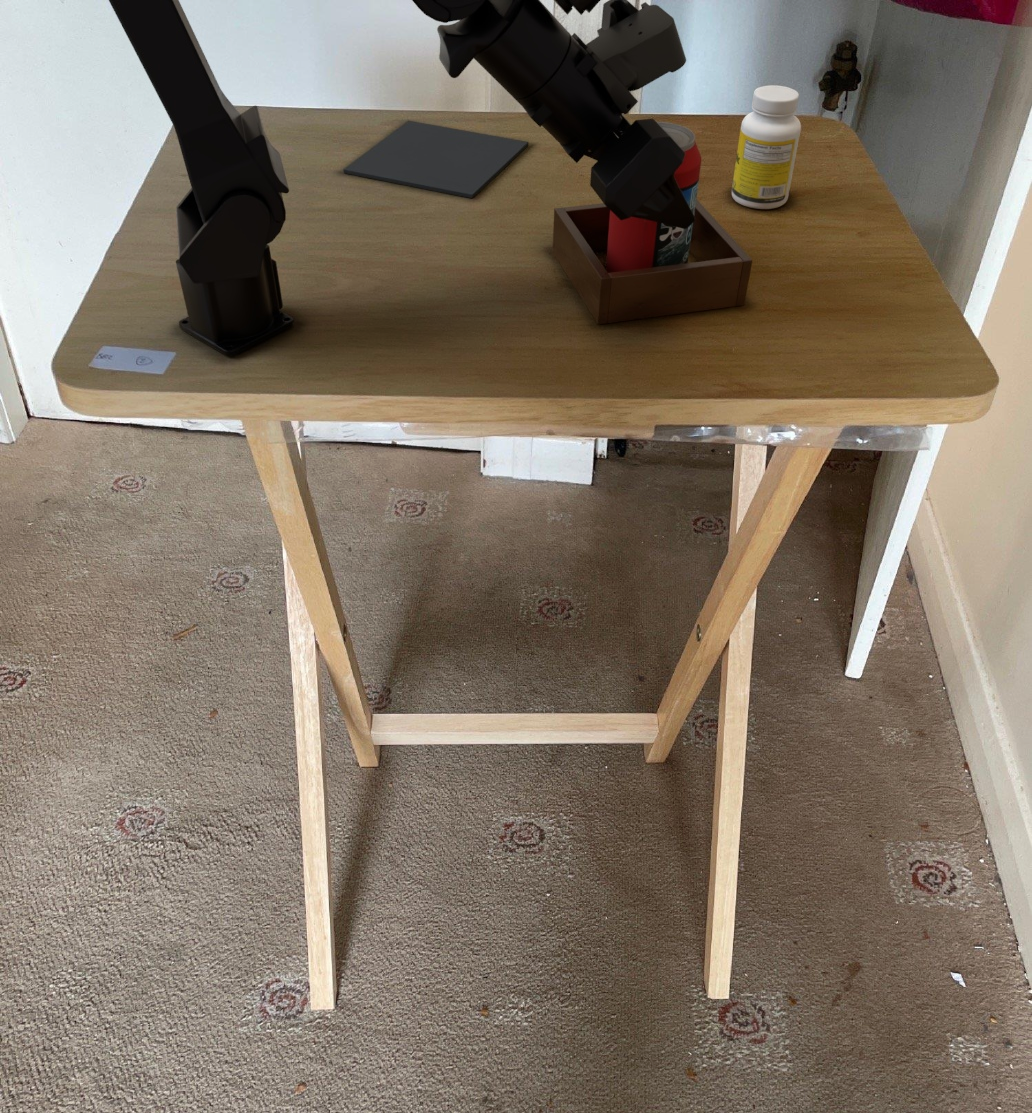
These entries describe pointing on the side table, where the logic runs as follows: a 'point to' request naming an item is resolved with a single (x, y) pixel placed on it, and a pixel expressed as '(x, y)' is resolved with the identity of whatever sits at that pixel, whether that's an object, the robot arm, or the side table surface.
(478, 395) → the side table surface
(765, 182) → the supplement bottle
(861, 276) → the side table surface
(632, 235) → the beverage can
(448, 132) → the mat
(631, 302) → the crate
